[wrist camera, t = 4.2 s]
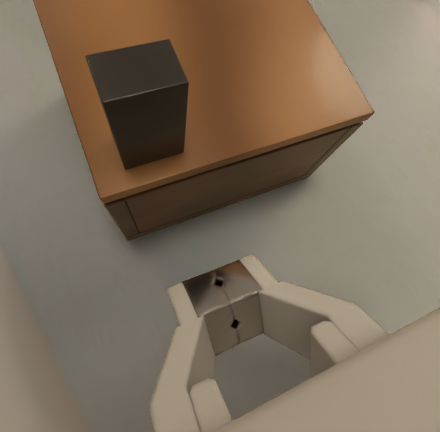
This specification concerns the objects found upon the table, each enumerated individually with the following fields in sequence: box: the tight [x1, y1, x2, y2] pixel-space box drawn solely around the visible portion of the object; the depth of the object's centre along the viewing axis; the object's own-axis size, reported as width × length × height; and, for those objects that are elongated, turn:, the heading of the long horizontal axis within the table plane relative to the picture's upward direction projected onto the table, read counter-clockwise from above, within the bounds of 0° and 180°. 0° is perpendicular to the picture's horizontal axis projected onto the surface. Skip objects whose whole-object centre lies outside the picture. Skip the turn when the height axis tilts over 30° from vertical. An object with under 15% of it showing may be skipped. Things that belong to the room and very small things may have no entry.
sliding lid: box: [33, 0, 374, 204], centre depth 15 cm, size 16×14×6 cm
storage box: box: [104, 122, 363, 240], centre depth 22 cm, size 16×14×8 cm
